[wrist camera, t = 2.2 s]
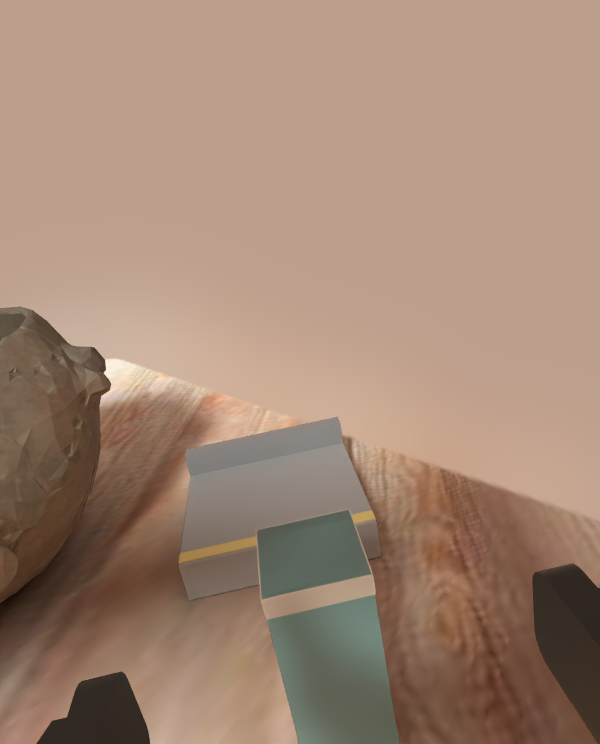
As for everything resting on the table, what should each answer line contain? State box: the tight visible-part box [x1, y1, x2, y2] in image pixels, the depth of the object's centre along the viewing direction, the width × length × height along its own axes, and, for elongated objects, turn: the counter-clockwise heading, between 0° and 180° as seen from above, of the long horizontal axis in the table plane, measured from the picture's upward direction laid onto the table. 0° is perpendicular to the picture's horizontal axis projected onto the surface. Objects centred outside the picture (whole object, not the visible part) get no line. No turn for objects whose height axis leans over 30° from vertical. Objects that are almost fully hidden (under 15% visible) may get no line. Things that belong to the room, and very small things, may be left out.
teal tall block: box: [256, 509, 403, 744], centre depth 25 cm, size 5×5×12 cm
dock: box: [178, 417, 382, 600], centre depth 44 cm, size 14×13×5 cm
